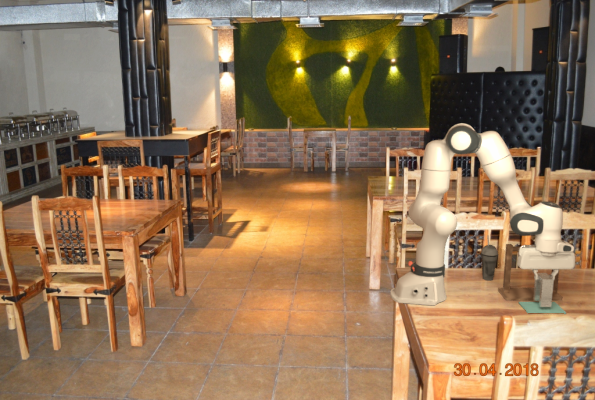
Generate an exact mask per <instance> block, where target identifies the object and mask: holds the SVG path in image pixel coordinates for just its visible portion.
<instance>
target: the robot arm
mask: <svg viewBox="0 0 595 400" xmlns="http://www.w3.org/2000/svg"><path fill="white" fill-rule="evenodd" d="M470 154H475V155H476V156H477V158H478V160H479V163H480V165H481V168H482V169H483V172H484V173H485V175H486V176H487V177H488V179H489V180H490V181H491V182H493V183H494V184H495V185H497V186H498V187H499V188H500V190H501V192H502V193H503V195H504V198H505V200H506V201H507V204H508V207H509V223H510V224H509V226H510V230H512V232H513V233H515V234H516V235H518V236H519V237H521V236H522V237H530V236H534V237H535V238H534V244H523V245H521V247H520V248H519V251H518V257H517V263H516V264H517V266H518V267H519V268H520V269H521V270H531V271H532V273H533V275H534V276H533V278H534V281H535V280H540V275H539V274H537V273H539V270H551V273H550V274H548V275H549V276H550V277H552V278H553V279H555V276H556V274H557V273H558V271H559V272H560V270H573V269H574V268H575V267H576V266H575V265H576V254H575V253H574V250H575V247H574V245H573V244H571V243H570V242H568V241H565V240H562V233H561V232H562V229H563V224H564V212H563V209H562V207H561V206H560V205H559V204H557V203H555V202H552V201H540V202H539V203H538V204H535V205H531V204H530V203H529V202H528V201H527V200H526V199H525V196H524V194H523V192H522V190H521V188H520V186H519V184H518V180H517V174H516V173H517V171H516V165H515V163H514V159H513V156H512V154H511V152H510V150H509V148H508V146H507V144H506V143H505V141H504V139H503V138H502V136H501V135H500V134H499V133H498V132H497V131H495V130H488V131H484V132H482V133H481V132H480V133H479V132H477V131H476V130H475V129H474V128H473V127H472V126H471V125H470V124H468V123H463V122H461V123H456V124H454V125H453V126H451V127H450V128H449V129H448V131H447V133H446V134H445V135H444V137H443V139H435V140H431V141H430V142H428V143H427V144H426V145H425V149H424V151H423V156H422V160H421V161H422V163H421V169H420V171H421V172H420V182H419V188H418V191H417V194H416V197H415V199H414V201H413V202H412V203H411V204H410V205H409V208H408V209H407V210H408V217H409V219H410V221H412V222H413V224H415V225H416V226H418V227H420V228H421V229H423V232H422V233H423V234H422V237H421V239H420V240H419V241H418V242H417V243H416V248H415V249H416V250H415V251H416V255H415V262H413V261H412V260H409V261H408V263H407V264H408V266H409V268H410V270H409V271H408V272H406V273H405V274H403V275H402V276H400V277H399V278H398V279H397V282H396V286H395V287H392V288H391V290H390V292H389V294H390V298H391V299H392V300H393V301H394V302H396V303H398V304H411V305H423V306H436V305H438V304H439V303H441V302H444V301H446V300H447V298H448V297H447V294H446V288H445V275H446V265H445V252H446V245H447V242H448V239H449V236H451V235H452V234H453V233H454V232H455V230H456V229H457V227H458V219H457V216H456V215H455V214H454V213H453V212H452V210H450V209H448V208H446V207H444V206H442V205H441V204H442V203H441V202H442V199H443V197H444V195H445V194H446V193H448V191H449V189H450V181H451V172H452V170H451V169H452V162H453V158H454V156H455V155H470ZM522 247H523V248H522ZM552 270H553V272H552Z"/></svg>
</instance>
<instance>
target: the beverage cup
mask: <svg viewBox="0 0 595 400" xmlns="http://www.w3.org/2000/svg"><path fill="white" fill-rule="evenodd" d="M489 239H490V238H489V234H487V244H486V245H484V246H483V247H482V248H481V252H480V257H481V272H482V273H481V274H482V277H481V278H482V280H484V281H493V280H494V277H495V273H496V266H497V260H498V257H499V251H498V248H497V247H495V245H493V244H490V240H489Z"/></svg>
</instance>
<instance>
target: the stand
mask: <svg viewBox="0 0 595 400" xmlns="http://www.w3.org/2000/svg"><path fill="white" fill-rule="evenodd" d="M521 246H522V245H521ZM521 246H518V245H517V246H516V245H515V246H514V245H513V244H511V243H506V244H505V255H504V270H503V281H502V287H497V291H498V293H500V295H501V296H502V297H503V299H504V300H505V301H507V302H509V301H513V302H514V301H518V302H535V301H534V300H533V297H534V287H511V275H512V265H513V264H512V262H513V252H519V248H520V247H521ZM522 248H523V247H522ZM552 272H553V270H552V269H551V273H552ZM559 276H560V270H559V271H558V273H557V274H556V276H555V279H554V283H553V293H552V302H557V301H560V302H562V301H563V296H562V295H561V294H559V292H558V287H559V286H558V284H559Z"/></svg>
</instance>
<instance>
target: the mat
mask: <svg viewBox="0 0 595 400" xmlns="http://www.w3.org/2000/svg"><path fill="white" fill-rule="evenodd" d="M518 304H519V305H520V307H521V308H522V309H523V310H524V309H525V310H526V311H525V310H524V311H525V312H526V313H527V314H528V313H564V314H563V315H566V314H567V311H565V310H564V309H563V308H562V307H561V306H560V305H559V304H558V303H557V301H552V304H551V307H540V306H539V301H518Z"/></svg>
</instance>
